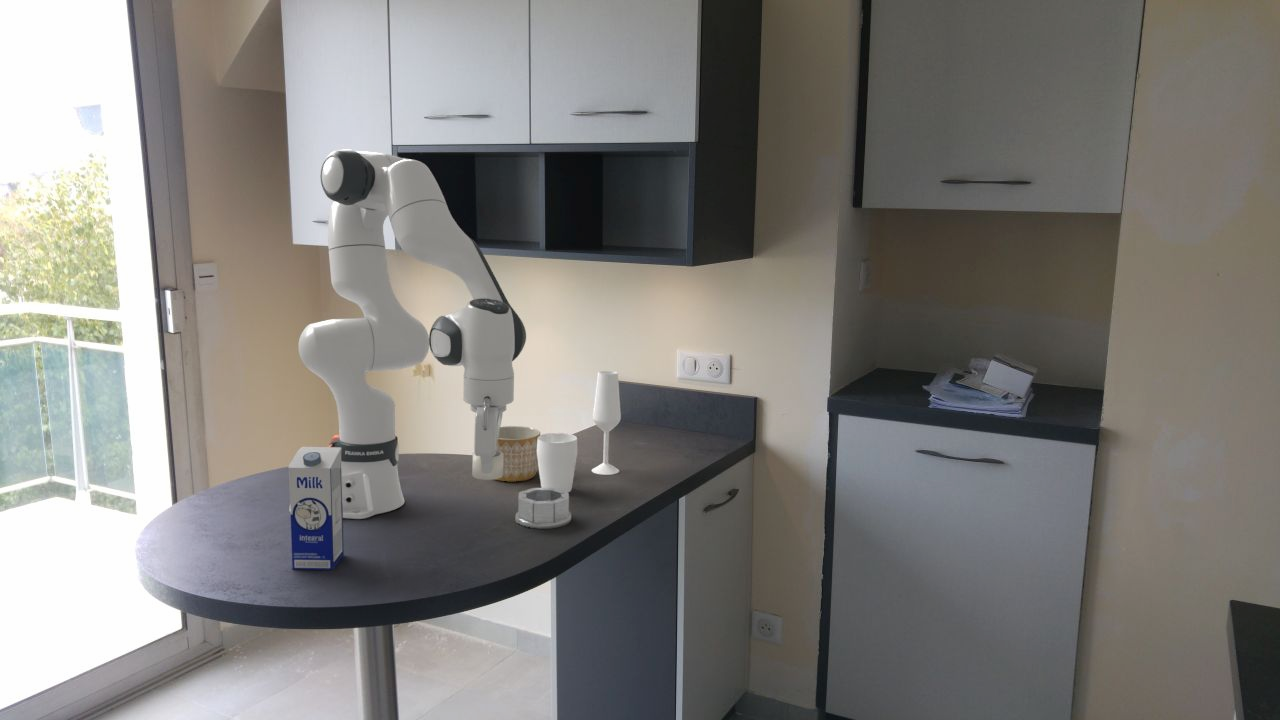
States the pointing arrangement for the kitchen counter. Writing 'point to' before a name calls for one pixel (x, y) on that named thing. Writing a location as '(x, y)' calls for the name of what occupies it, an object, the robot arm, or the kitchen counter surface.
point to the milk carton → (316, 508)
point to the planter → (518, 452)
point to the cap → (496, 467)
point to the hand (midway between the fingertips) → (487, 466)
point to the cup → (557, 460)
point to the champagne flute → (606, 413)
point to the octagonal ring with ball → (543, 508)
